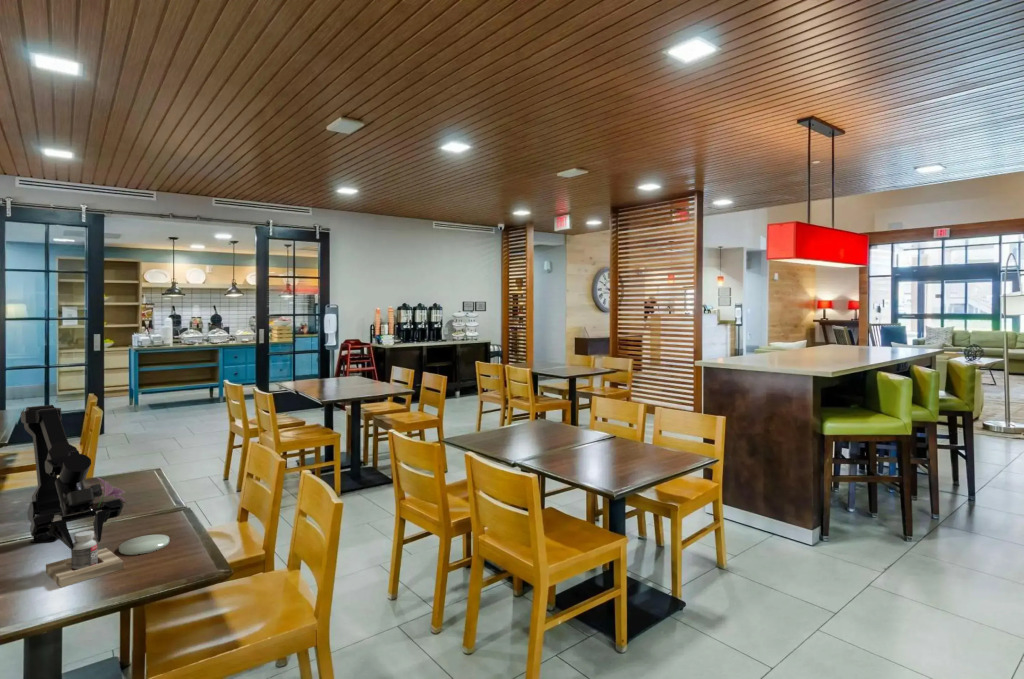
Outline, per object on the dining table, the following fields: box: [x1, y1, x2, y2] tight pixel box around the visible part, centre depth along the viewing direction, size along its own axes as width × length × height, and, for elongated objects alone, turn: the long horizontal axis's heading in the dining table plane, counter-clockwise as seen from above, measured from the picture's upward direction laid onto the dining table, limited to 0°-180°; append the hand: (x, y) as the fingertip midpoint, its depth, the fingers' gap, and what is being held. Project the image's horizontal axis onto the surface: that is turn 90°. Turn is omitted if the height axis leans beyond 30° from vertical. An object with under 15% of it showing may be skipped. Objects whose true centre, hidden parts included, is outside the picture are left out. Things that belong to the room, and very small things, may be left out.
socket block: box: [45, 547, 124, 589], centre depth 142 cm, size 13×13×2 cm
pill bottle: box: [70, 529, 99, 571], centre depth 142 cm, size 5×5×10 cm
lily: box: [95, 476, 127, 508], centre depth 193 cm, size 12×12×10 cm
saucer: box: [118, 534, 170, 556], centre depth 158 cm, size 12×12×1 cm
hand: (86, 544), depth 141 cm, fingers closed on pill bottle, 5 cm apart
